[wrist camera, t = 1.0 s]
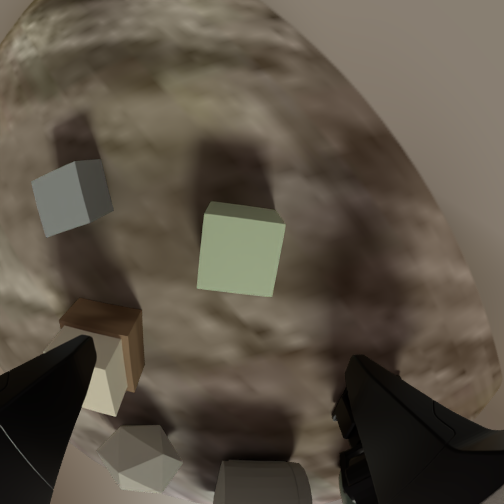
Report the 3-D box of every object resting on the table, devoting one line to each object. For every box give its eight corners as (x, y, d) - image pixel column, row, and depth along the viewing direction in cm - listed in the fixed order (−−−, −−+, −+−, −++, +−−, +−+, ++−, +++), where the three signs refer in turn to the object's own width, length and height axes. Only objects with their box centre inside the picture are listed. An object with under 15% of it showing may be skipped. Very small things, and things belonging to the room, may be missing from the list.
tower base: (142, 308, 22) (127, 336, 19) (145, 363, 24) (134, 392, 20) (80, 296, 22) (59, 320, 18) (88, 350, 24) (72, 376, 20)
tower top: (121, 339, 19) (105, 369, 15) (127, 386, 20) (116, 416, 17) (64, 325, 18) (43, 351, 15) (75, 372, 20) (59, 399, 16)
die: (113, 394, 26) (72, 459, 20) (176, 432, 22) (129, 509, 16) (148, 418, 32) (114, 474, 25) (205, 449, 28) (168, 511, 21)
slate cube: (101, 159, 18) (74, 161, 14) (114, 210, 20) (90, 222, 16) (60, 175, 18) (31, 181, 15) (73, 223, 20) (46, 237, 16)
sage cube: (275, 209, 20) (285, 224, 16) (264, 269, 22) (271, 297, 17) (210, 200, 20) (204, 213, 16) (204, 261, 21) (196, 288, 17)
